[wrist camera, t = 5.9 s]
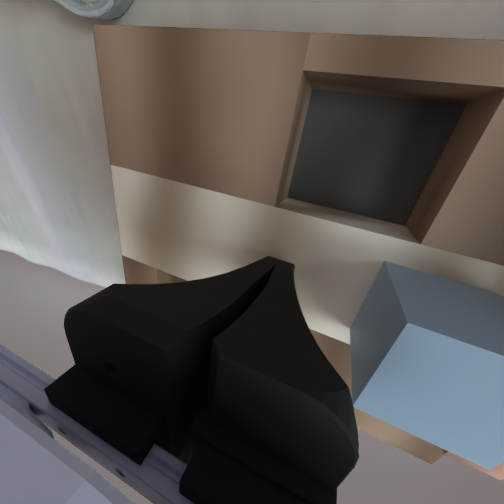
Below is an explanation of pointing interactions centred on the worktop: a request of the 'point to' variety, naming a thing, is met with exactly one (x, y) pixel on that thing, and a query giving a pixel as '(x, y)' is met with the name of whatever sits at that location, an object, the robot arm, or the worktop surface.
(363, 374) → the block
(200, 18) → the worktop surface
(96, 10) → the ceramic mug
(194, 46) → the trap board
